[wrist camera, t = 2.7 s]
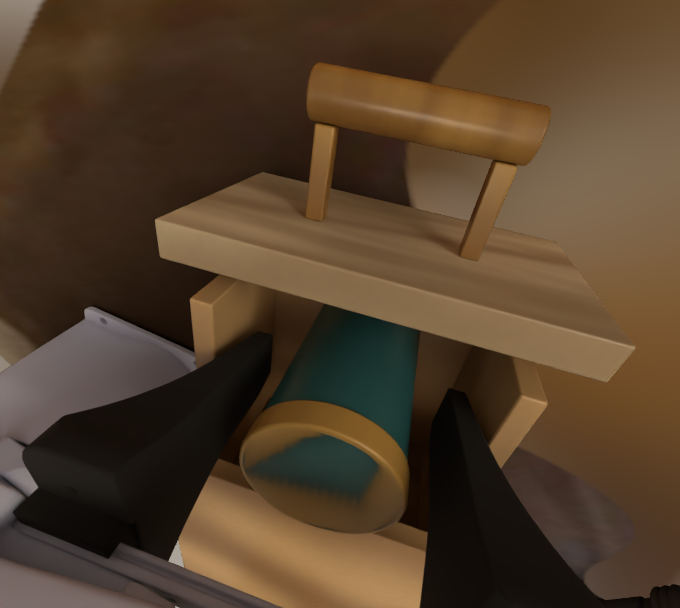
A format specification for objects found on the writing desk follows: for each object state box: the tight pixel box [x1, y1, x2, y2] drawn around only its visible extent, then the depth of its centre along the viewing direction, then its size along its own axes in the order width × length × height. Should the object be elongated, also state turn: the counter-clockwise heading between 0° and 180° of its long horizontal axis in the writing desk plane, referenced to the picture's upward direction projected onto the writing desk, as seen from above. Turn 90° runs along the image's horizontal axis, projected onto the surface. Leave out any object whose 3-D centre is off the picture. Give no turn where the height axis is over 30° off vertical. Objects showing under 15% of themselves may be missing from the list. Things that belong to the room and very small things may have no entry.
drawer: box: [155, 62, 635, 532], centre depth 14 cm, size 18×12×7 cm
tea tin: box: [239, 304, 420, 534], centre depth 13 cm, size 5×5×8 cm
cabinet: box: [178, 458, 428, 608], centre depth 21 cm, size 15×14×9 cm
